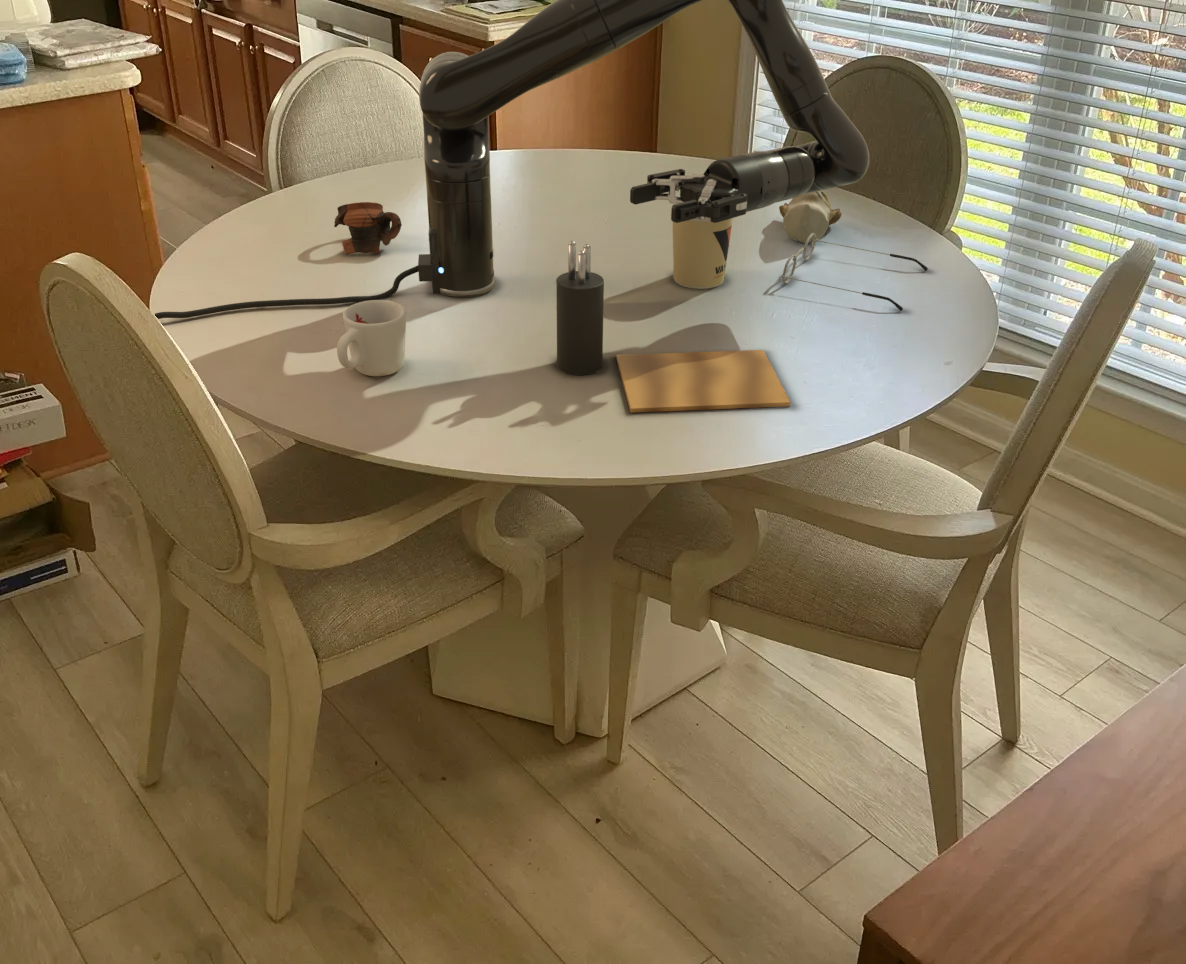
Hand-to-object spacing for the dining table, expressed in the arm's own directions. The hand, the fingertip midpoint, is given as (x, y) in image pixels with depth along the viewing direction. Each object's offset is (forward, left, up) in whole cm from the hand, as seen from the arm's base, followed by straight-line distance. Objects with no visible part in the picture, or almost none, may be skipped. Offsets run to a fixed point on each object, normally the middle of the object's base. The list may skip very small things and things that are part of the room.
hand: (652, 205), depth 148 cm
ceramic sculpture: (+33, +41, -20) cm, 57 cm away
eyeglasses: (+35, +20, -20) cm, 45 cm away
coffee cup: (+11, +22, -20) cm, 32 cm away
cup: (-37, -6, -20) cm, 42 cm away
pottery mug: (-40, +40, -20) cm, 60 cm away
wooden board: (+5, -12, -20) cm, 23 cm away
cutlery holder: (-10, -6, -20) cm, 22 cm away
